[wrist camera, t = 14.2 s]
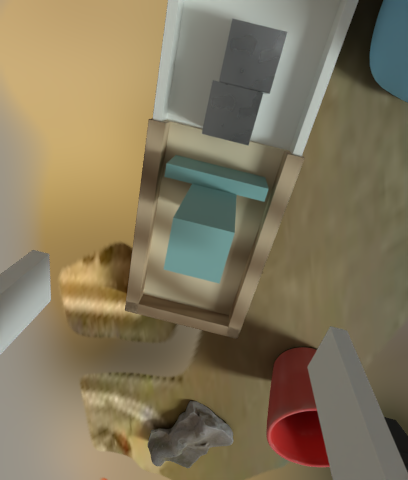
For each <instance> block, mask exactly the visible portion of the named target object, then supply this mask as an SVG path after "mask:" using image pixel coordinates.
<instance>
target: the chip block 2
mask: <svg viewBox="0 0 408 480" xmlns="http://www.w3.org/2000/svg"><path fill="white" fill-rule="evenodd" d="M262 96H263V93H262V92H258V91H254V90H250V89H246V88H242V87H238V86H234V85H230V84H226V83H222V82H218V81H214V80H213V82H212V86H211V91H210V96H209V101H208V106H207V110H206V115H205V120H204V125H203V130H202V134H204V135H208V136H212V137H216V138H220V139H224V140H228V141H232V142H236V143H240V144H244V145H248V146H249V142H250V138H251V135H252V131H253V128H254V124H255V121H256V117H257V114H258V110H259V107H260V103H261V100H262Z"/></svg>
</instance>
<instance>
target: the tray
mask: <svg viewBox="0 0 408 480" xmlns="http://www.w3.org/2000/svg"><path fill="white" fill-rule="evenodd" d="M358 1H359V0H168V5H167V12H166V20H165V28H164V35H163V43H162V51H161V58H160V66H159V74H158V82H157V89H156V97H155V105H154V112H153V120H156V121H160V122H162V121H165V120H168V121H172V122H176V123H181V124H185V125H189V126H193V127H197V128H201V129H203V125H204V120H205V115H206V110H207V106H208V101H209V96H210V91H211V86H212V82H213V80H214V81H218V82H219V79H220V74H221V70H222V65H223V60H224V56H225V51H226V46H227V42H228V37H229V32H230V28H231V23H232V18H233V19H237V20H241V21H245V22H249V23H253V24H257V25H261V26H265V27H269V28H274V29H278V30H282V31H286V32H287V36H286V39H285V43H284V46H283V50H282V53H281V56H280V60H279V63H278V67H277V70H276V74H275V77H274V81H273V84H272V88H271V91H270V94H263V96H262V100H261V103H260V107H259V110H258V114H257V117H256V121H255V124H254V128H253V131H252V135H251V138H250V141H253V142H257V143H261V144H265V145H269V146H273V147H277V148H281V149H285V150H289V151H290V152H291V153H292V154H293V155H297V156H302V154H303V151H304V148H305V145H306V143H307V140H308V137H309V134H310V132H311V129H312V126H313V123H314V121H315V118H316V115H317V113H318V110H319V107H320V104H321V102H322V99H323V96H324V93H325V91H326V88H327V85H328V83H329V80H330V77H331V74H332V72H333V69H334V66H335V63H336V61H337V58H338V55H339V53H340V50H341V47H342V44H343V42H344V39H345V36H346V33H347V31H348V28H349V25H350V23H351V20H352V17H353V14H354V12H355V9H356V6H357V3H358Z"/></svg>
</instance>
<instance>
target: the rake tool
mask: <svg viewBox="0 0 408 480" xmlns="http://www.w3.org/2000/svg"><path fill="white" fill-rule="evenodd" d="M164 177H167V178H171V179H175V180H179V181H183V182H187V183H191V184H192V185H191V187H190V188H189V190H188V192H187V194H186V196H185V197H184V199H183V201H182V203H181V205H180V206H179V208H178V210H177V212H176V213H175V215H174V217H173V222H172V227H171V232H170V238H169V243H168V248H167V254H166V259H165V264H164V270H168V271H171V272H175V273H179V274H183V275H187V276H191V277H195V278H199V279H203V280H207V281H211V282H215V283H219V284H220V280H221V277H222V274H223V270H224V267H225V264H226V260H227V257H228V254H229V250H230V247H231V244H232V240H233V237H234V234H235V217H236V197H237V195H239V196H243V197H247V198H251V199H255V200H259V201H263V202H264V201H265V198H266V195H267V192H268V189H269V188H268V185H267V181H266V178H265V177H262V176H258V175H254V174H250V173H246V172H242V171H238V170H234V169H230V168H226V167H222V166H218V165H214V164H210V163H206V162H202V161H198V160H194V159H190V158H186V157H182V156H178V155H175V156H174V157H173V158H172V159H171V160H170V161H169V162H167V164H166V170H165V176H164Z"/></svg>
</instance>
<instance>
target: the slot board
mask: <svg viewBox="0 0 408 480" xmlns="http://www.w3.org/2000/svg"><path fill="white" fill-rule="evenodd" d="M202 130H203V129H201V128H197V127H193V126H189V125H185V124H181V123H176V122H172V121H168V120H165V121H162V122H160V121H156V120H153V119H149V123H148V130H147V138H146V146H145V154H144V162H143V170H142V178H141V187H140V194H139V202H138V210H137V218H136V226H135V234H134V242H133V250H132V258H131V266H130V274H129V282H128V290H127V298H126V306H125V311H128V312H132V313H136V314H140V315H144V316H148V317H152V318H156V319H160V320H164V321H168V322H172V323H176V324H180V325H184V326H188V327H192V328H196V329H200V330H204V331H208V332H212V333H216V334H220V335H224V336H228V337H232V338H236V339H237V338H238V336H239V333H240V330H241V328H242V325H243V322H244V320H245V317H246V314H247V312H248V309H249V306H250V304H251V301H252V298H253V296H254V293H255V290H256V287H257V285H258V282H259V279H260V277H261V274H262V271H263V269H264V266H265V263H266V261H267V258H268V255H269V253H270V250H271V247H272V245H273V242H274V239H275V236H276V234H277V231H278V228H279V226H280V223H281V220H282V218H283V215H284V212H285V210H286V207H287V204H288V202H289V199H290V196H291V193H292V191H293V188H294V185H295V183H296V180H297V177H298V175H299V172H300V169H301V167H302V164H303V161H304V159H305V158H304V157H303V156H297V155H293V154H292V153H291V152H290V151H289V150H285V149H281V148H277V147H273V146H269V145H265V144H261V143H257V142H253V141H250V142H249V146H248V145H244V144H240V143H236V142H232V141H228V140H224V139H220V138H216V137H212V136H208V135H204V134H202ZM175 155H178V156H182V157H186V158H190V159H194V160H198V161H202V162H206V163H210V164H214V165H218V166H222V167H226V168H230V169H234V170H238V171H242V172H246V173H250V174H254V175H258V176H262V177H265V178H266V181H267V185H268V188H269V189H268V192H267V195H266V198H265V201H264V202H263V201H259V200H255V199H251V198H247V197H243V196H239V195H237V197H236V217H235V234H234V237H233V240H232V244H231V247H230V250H229V254H228V257H227V260H226V264H225V267H224V270H223V274H222V277H221V280H220V284H219V283H215V282H211V281H207V280H203V279H199V278H195V277H191V276H187V275H183V274H179V273H175V272H171V271H168V270H164V264H165V259H166V254H167V248H168V243H169V238H170V232H171V227H172V222H173V217H174V215H175V213H176V212H177V210H178V208H179V206H180V205H181V203H182V201H183V199H184V197H185V196H186V194H187V192H188V190H189V188H190V187H191V185H192V184H191V183H187V182H183V181H179V180H175V179H171V178H167V177H164V176H165V170H166V164H167V162H169V161H170V160H171V159H172V158H173V157H174V156H175Z"/></svg>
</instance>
